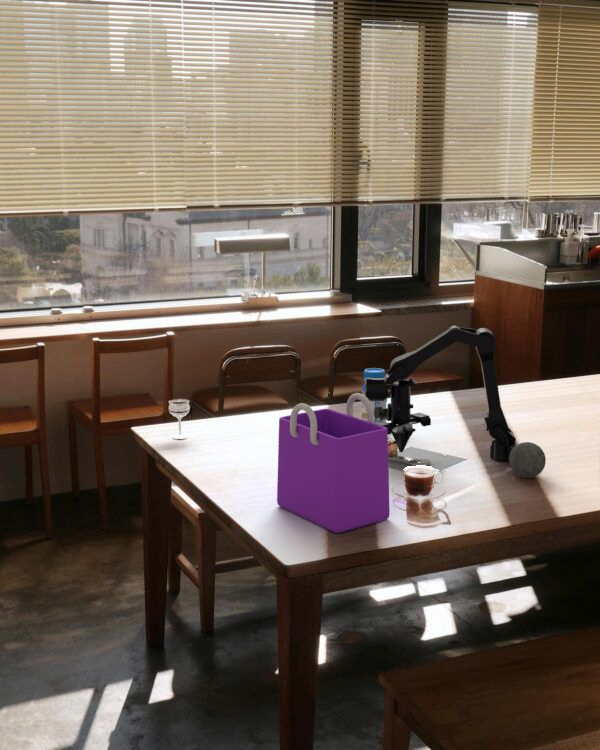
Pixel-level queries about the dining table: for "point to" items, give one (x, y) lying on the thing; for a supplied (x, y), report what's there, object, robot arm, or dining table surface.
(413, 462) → the crank
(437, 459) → the mount plate
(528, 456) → the decorative ball
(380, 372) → the beverage bottle
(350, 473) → the shopping bag
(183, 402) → the wineglass
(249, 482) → the dining table surface
